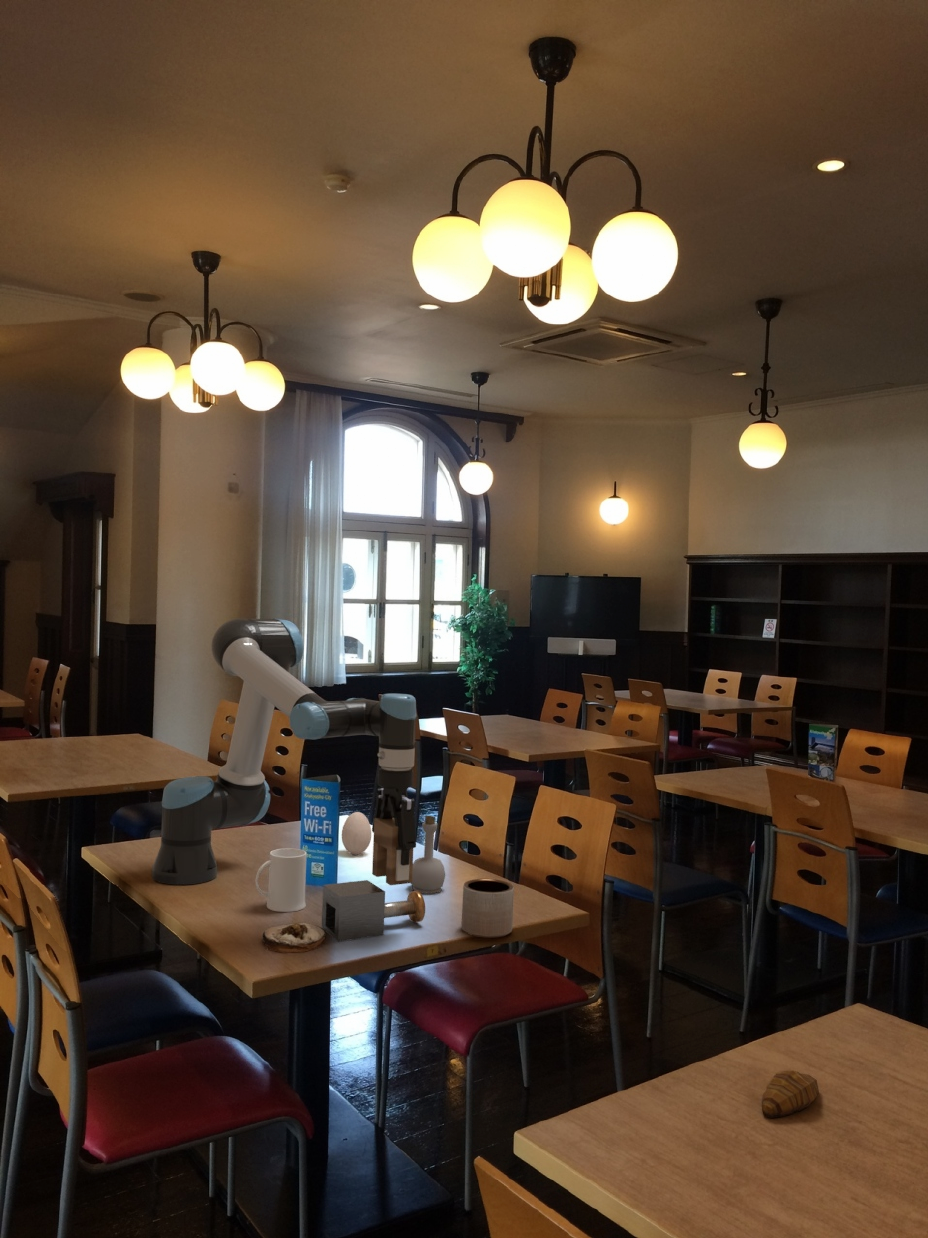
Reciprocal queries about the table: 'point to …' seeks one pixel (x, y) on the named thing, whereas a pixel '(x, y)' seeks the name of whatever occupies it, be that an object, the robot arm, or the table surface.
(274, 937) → the cream tart
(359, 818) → the egg
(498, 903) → the planter
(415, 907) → the shaft
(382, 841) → the spacer
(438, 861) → the potion bottle
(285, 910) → the mug
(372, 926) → the block
